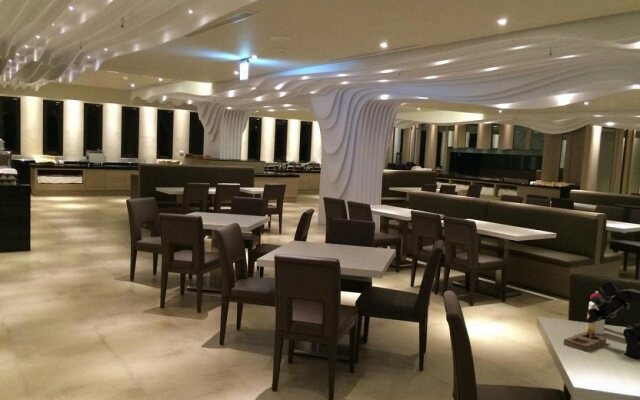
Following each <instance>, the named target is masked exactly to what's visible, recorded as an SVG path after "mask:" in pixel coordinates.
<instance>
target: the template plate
mask: <svg viewBox="0 0 640 400" xmlns="http://www.w3.org/2000/svg"><path fill="white" fill-rule="evenodd" d="M586 333H587V331H586V332H585V331H584V332H581V333H578V334H575V335H573V336H570V337H567V338H564V339H563V345H565V346H567V347H571V348H574V349H577V350H579V351H580V350H581V351H583V352H588V351H591V350H593V349H595V348H598V347H600V346H603V345H605V344H606V343H607V338H606V337H604V336H600V335H598V334H595V340H592V339H589V338H586Z"/></svg>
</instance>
